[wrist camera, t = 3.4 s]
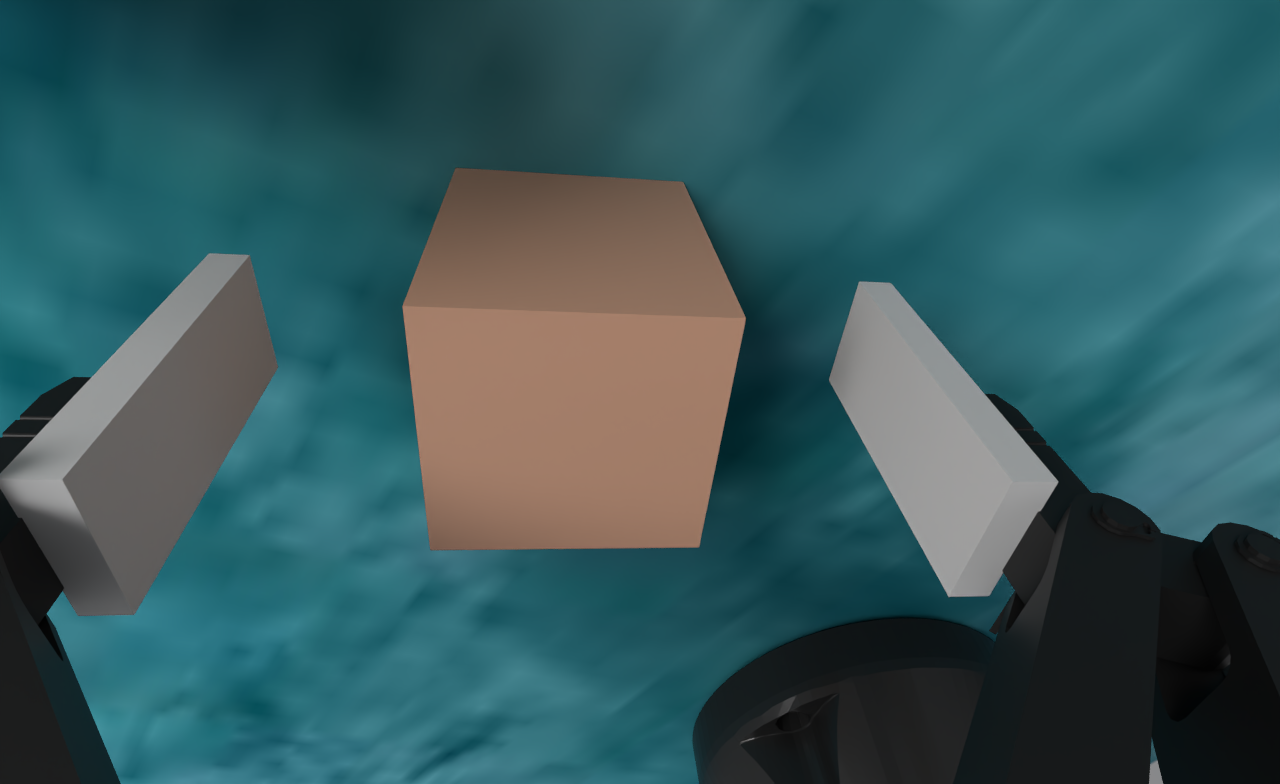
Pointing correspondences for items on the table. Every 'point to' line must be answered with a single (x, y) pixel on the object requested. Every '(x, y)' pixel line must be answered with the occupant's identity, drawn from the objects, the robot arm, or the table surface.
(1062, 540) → the robot arm
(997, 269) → the table surface
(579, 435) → the terracotta block
